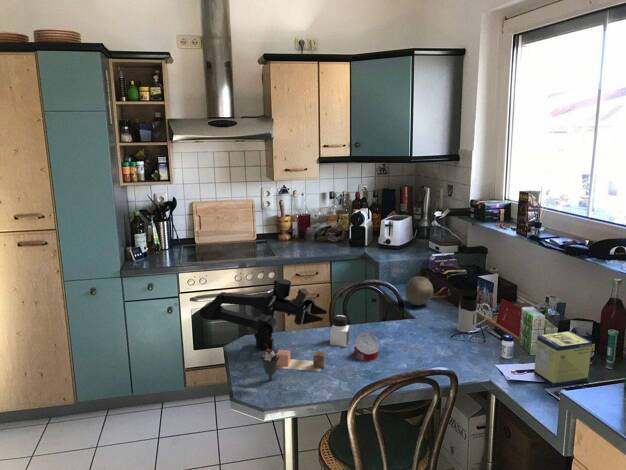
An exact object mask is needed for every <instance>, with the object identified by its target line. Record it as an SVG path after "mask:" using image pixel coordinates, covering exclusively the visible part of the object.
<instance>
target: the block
mask: <svg viewBox="0 0 626 470" xmlns="http://www.w3.org/2000/svg"><path fill="white" fill-rule="evenodd" d="M276 354H277V355H278V356H279V360H278V361H277V366H288V365H289V363H290V359H291V350H289V349H288V350H287V349H278V351H277V352H276Z"/></svg>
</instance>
